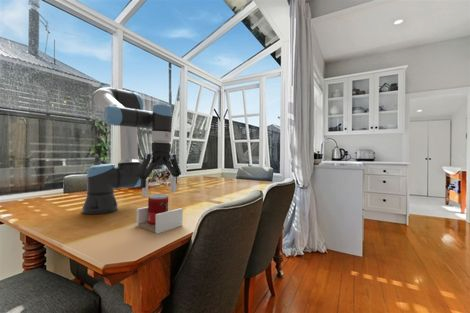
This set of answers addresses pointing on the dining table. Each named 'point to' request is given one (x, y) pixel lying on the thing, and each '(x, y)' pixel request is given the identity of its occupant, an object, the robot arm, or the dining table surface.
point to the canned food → (156, 206)
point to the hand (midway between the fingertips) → (159, 193)
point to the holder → (159, 220)
